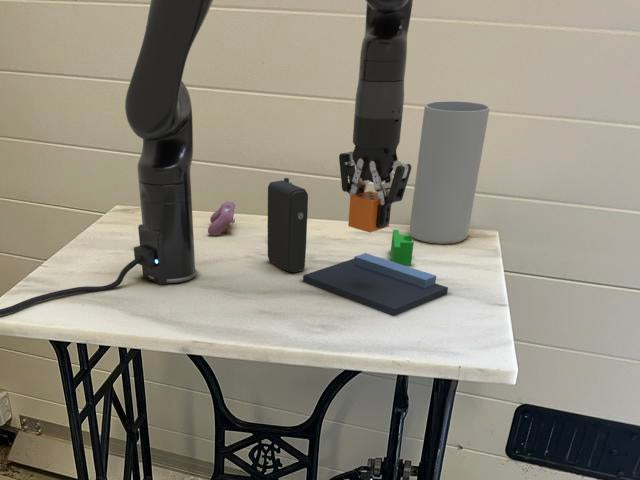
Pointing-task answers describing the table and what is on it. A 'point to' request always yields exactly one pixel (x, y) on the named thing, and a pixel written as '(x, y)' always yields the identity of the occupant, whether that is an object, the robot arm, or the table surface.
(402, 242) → the pipe clamp
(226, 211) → the purple rounded lump
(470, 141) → the cylinder vase
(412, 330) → the table surface
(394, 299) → the bed mat
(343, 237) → the table surface
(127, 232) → the table surface
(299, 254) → the dark grey rounded box
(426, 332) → the table surface
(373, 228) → the die
